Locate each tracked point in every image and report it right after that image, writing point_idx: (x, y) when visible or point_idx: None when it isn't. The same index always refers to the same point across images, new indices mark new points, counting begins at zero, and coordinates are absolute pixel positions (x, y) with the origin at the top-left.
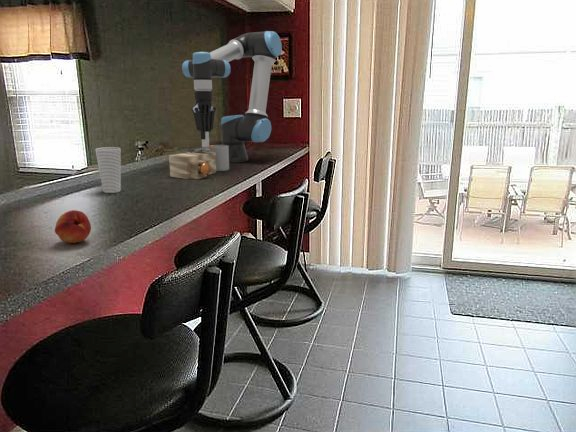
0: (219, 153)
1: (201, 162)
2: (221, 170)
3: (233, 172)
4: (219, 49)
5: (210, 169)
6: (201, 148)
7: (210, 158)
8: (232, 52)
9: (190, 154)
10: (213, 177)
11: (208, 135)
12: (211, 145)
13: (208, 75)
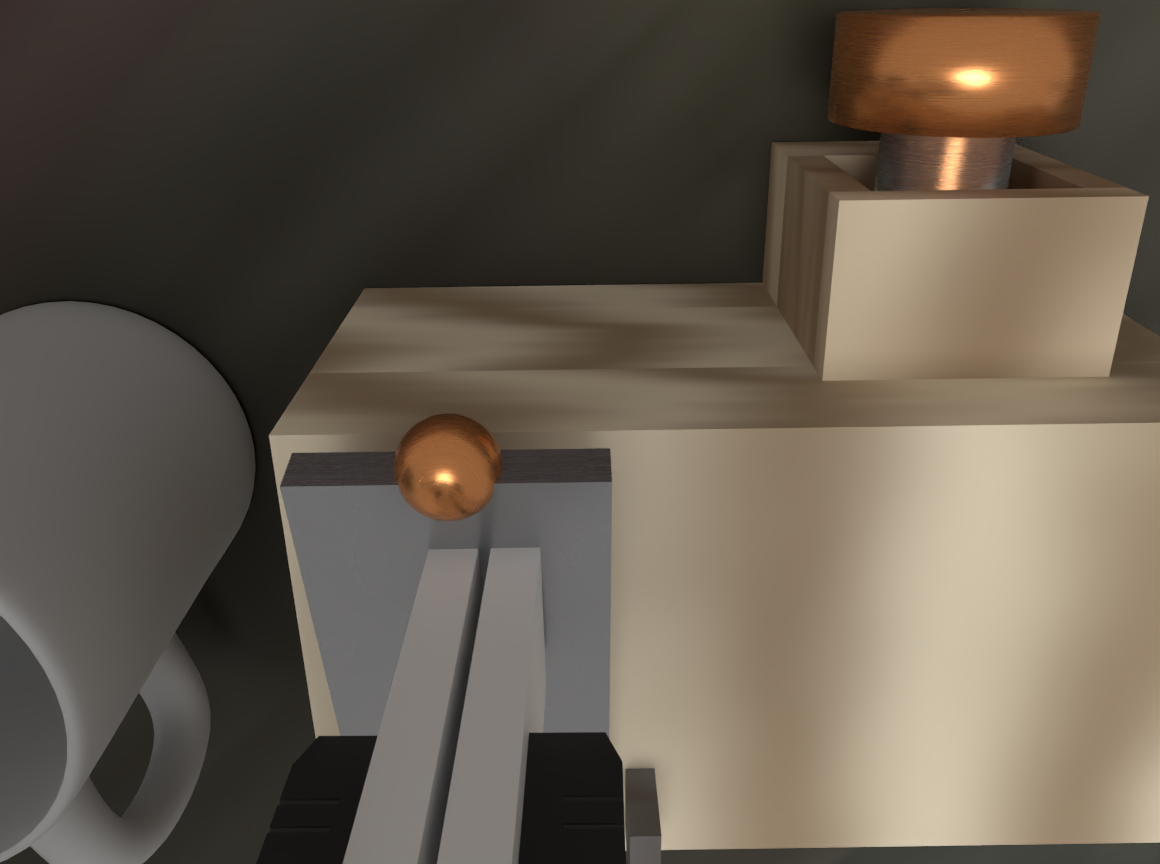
0: (59, 494)
1: (980, 195)
2: (177, 336)
3: (121, 53)
4: None
5: (848, 12)
6: (607, 633)
7: (475, 384)
8: None
9: (859, 640)
10: (739, 4)
11: (390, 785)
12: (439, 476)
13: None
